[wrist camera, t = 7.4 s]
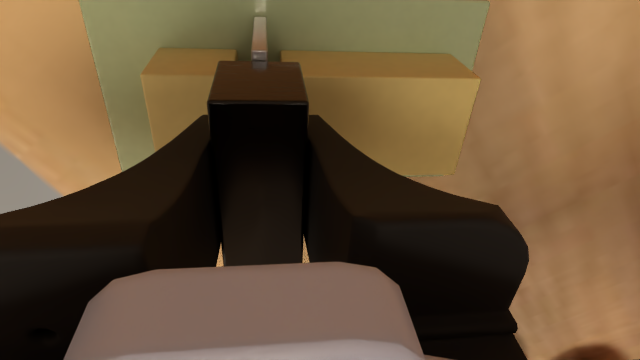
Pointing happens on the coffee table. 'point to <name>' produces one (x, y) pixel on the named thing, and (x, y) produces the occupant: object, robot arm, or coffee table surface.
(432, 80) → the butter stick
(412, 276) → the robot arm
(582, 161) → the coffee table surface
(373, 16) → the butter dish
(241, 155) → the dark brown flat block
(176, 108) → the butter pat
